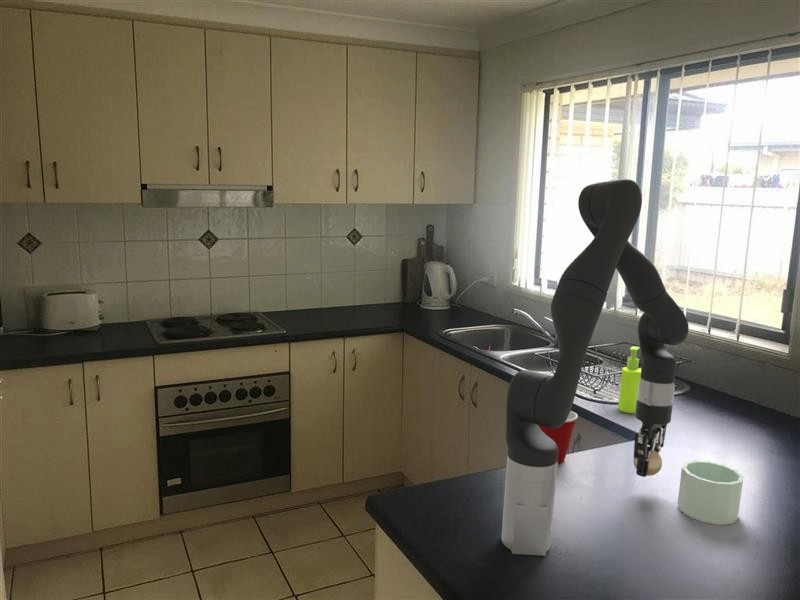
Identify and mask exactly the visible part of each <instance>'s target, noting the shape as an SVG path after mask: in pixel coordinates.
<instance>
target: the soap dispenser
mask: <svg viewBox="0 0 800 600" xmlns="http://www.w3.org/2000/svg"><path fill="white" fill-rule="evenodd" d="M639 350H640V346H635V345H633V346H631V347H630V348H629V351H630V356H629V357H627V358H626V359H627V362H626V366H624V367H622V369H621V377H620V389H619V396H618V397H619V398H618V408H617V409H618V410H619V411H620V412H622V413H626V414H635V410H636V401H637V392H638V385H639V381H640V376H641V368H639V363H640V359H639V358H638V357H637V356H638V354H637V353H638V351H639Z"/></svg>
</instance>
